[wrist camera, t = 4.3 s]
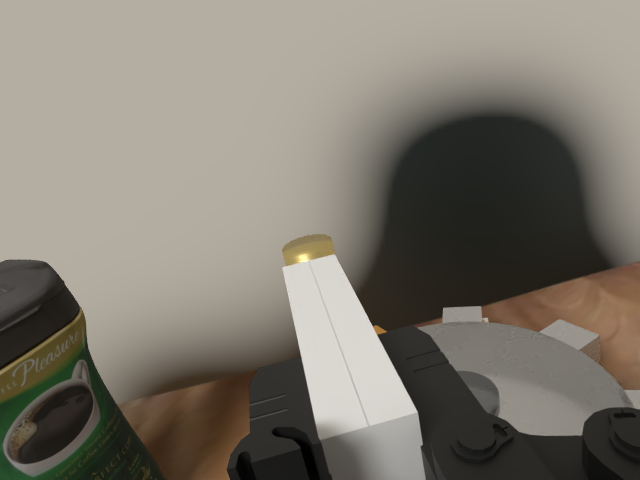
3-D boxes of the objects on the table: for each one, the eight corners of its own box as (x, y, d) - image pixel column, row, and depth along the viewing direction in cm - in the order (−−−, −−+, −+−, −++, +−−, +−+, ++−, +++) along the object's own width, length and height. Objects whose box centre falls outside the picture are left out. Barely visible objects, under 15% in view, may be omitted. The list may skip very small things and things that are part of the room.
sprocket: (528, 304, 38) (517, 134, 33) (829, 543, 18) (918, 216, 13) (282, 374, 36) (231, 207, 31) (328, 715, 17) (214, 420, 12)
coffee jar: (116, 465, 35) (4, 245, 28) (191, 494, 31) (81, 245, 24) (-14, 595, 28) (-208, 335, 21) (62, 655, 24) (-148, 358, 17)
